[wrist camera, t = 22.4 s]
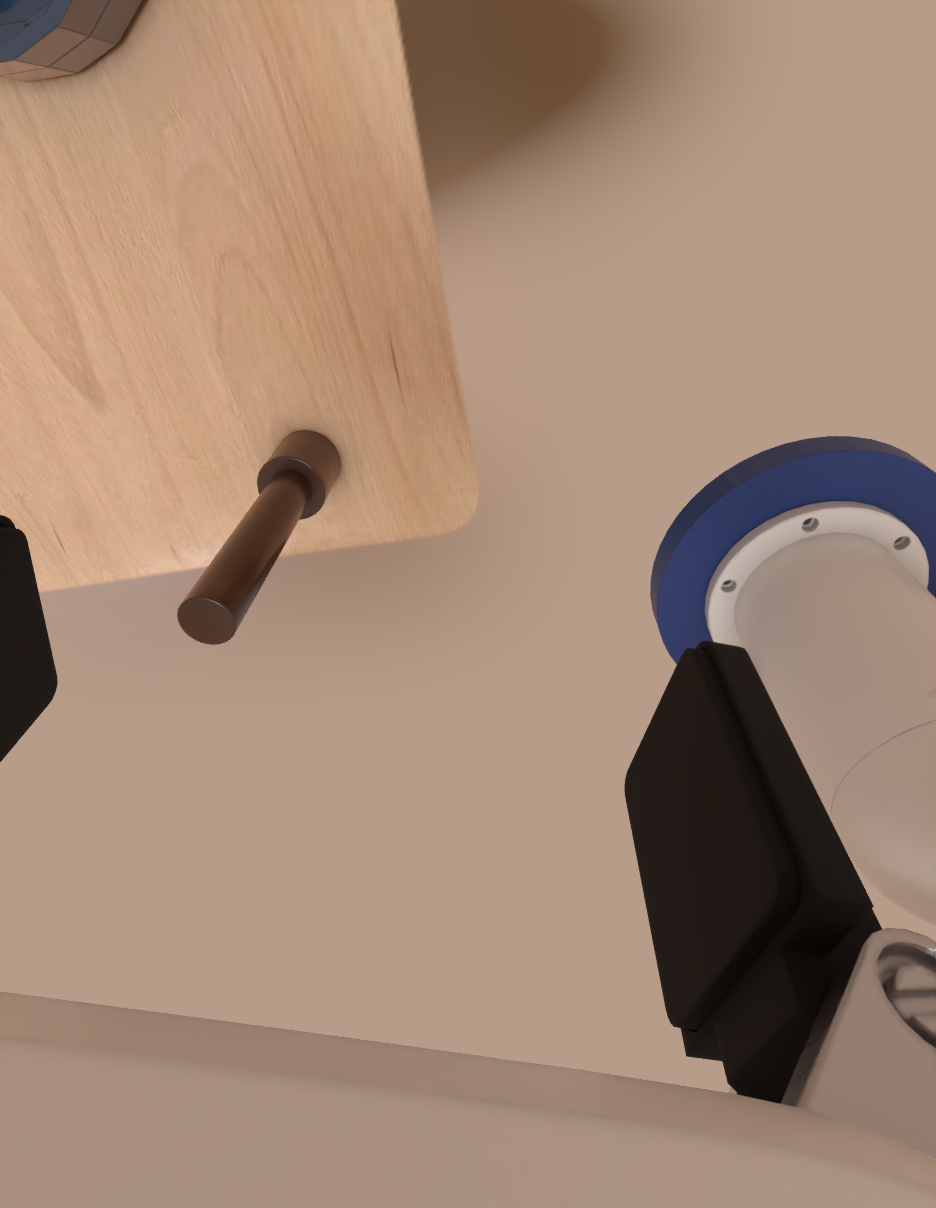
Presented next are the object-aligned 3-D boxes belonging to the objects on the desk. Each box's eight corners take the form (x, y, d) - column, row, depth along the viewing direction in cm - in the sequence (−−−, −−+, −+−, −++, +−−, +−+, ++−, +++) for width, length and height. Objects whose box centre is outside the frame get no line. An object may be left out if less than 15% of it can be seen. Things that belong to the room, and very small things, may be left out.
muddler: (344, 438, 37) (257, 593, 24) (336, 495, 39) (251, 667, 26) (280, 423, 37) (156, 571, 24) (276, 481, 39) (158, 648, 26)
